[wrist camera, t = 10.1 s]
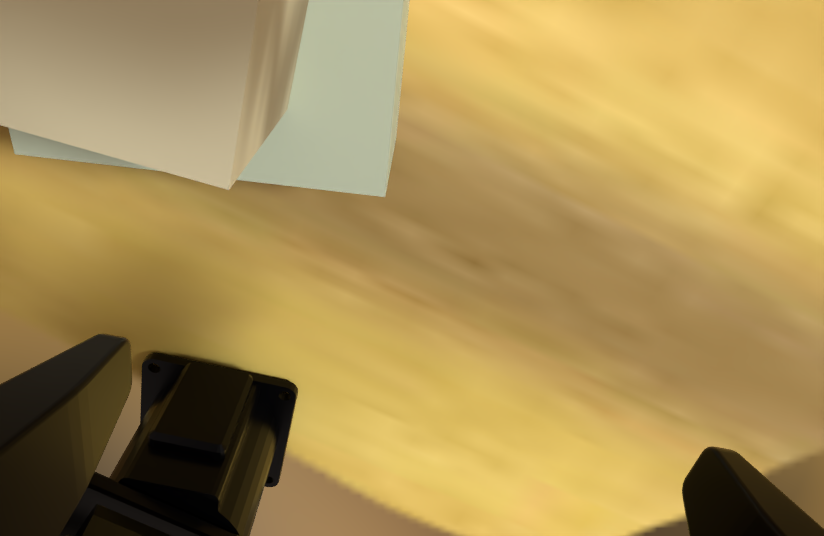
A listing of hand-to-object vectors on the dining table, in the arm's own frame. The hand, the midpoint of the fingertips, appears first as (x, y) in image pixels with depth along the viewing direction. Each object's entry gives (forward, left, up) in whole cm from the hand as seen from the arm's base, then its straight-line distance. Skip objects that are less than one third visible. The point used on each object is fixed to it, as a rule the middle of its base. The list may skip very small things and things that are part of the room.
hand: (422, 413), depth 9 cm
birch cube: (+4, +6, -8) cm, 11 cm away
